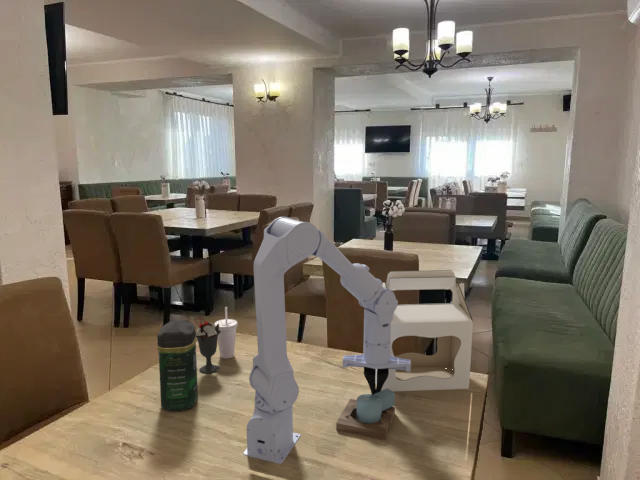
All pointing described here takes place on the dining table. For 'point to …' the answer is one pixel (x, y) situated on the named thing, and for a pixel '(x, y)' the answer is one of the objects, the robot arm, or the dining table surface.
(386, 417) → the holder
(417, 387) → the gable box
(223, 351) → the smoothie
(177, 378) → the coffee jar
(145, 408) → the dining table surface
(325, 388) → the dining table surface
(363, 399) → the light blue piece
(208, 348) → the sundae
